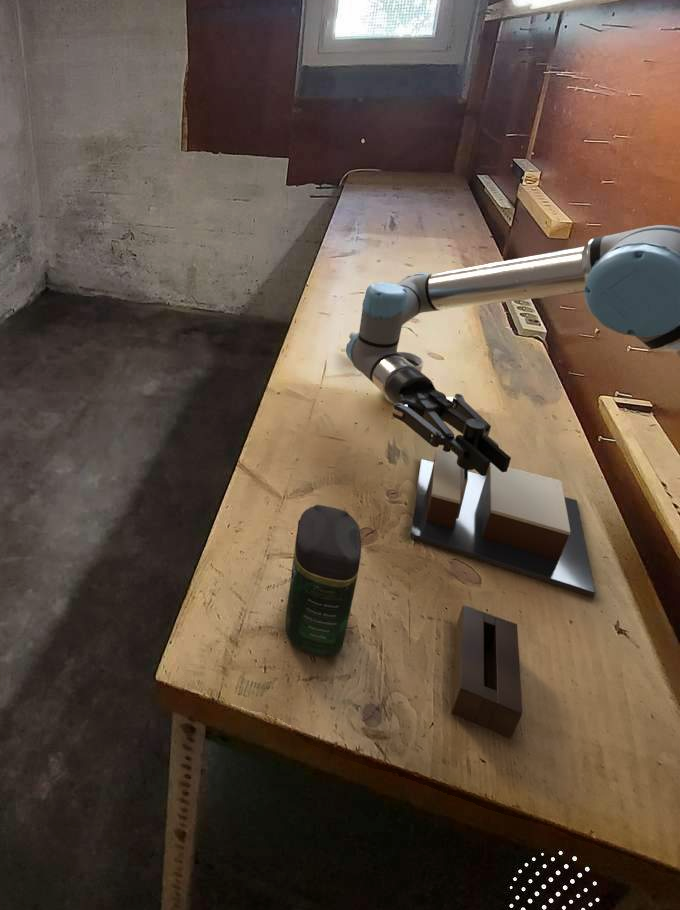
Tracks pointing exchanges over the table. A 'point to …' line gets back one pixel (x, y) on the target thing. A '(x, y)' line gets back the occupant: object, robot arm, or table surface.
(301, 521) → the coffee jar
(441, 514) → the cake slice
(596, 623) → the table surface
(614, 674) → the table surface
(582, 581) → the cake board
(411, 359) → the white cup
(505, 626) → the knife block
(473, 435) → the knife
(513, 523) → the cake
